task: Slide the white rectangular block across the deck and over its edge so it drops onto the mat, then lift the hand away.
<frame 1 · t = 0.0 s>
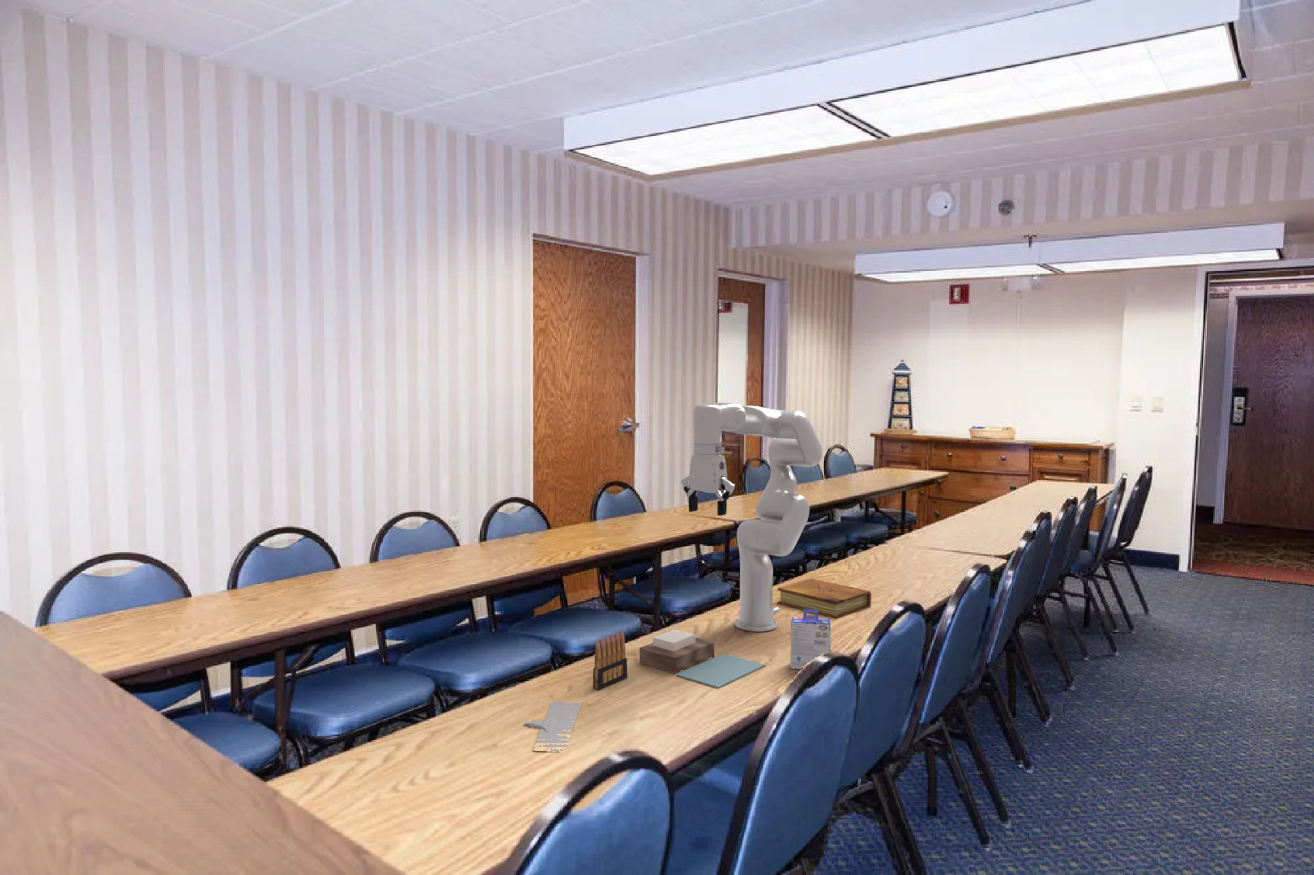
hand: (707, 513, 227), 37 cm above the table, tool pointing down, fingers open, 9 cm apart
ink cartridge box: (810, 667, 213), on the table
mat: (721, 670, 210), on the table
ammunition clip: (610, 684, 202), on the table
diary: (823, 606, 270), on the table
deck: (677, 660, 218), on the table
white rectangular block: (674, 640, 218), point 5 cm above the table, touching deck
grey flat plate: (579, 728, 178), on the table
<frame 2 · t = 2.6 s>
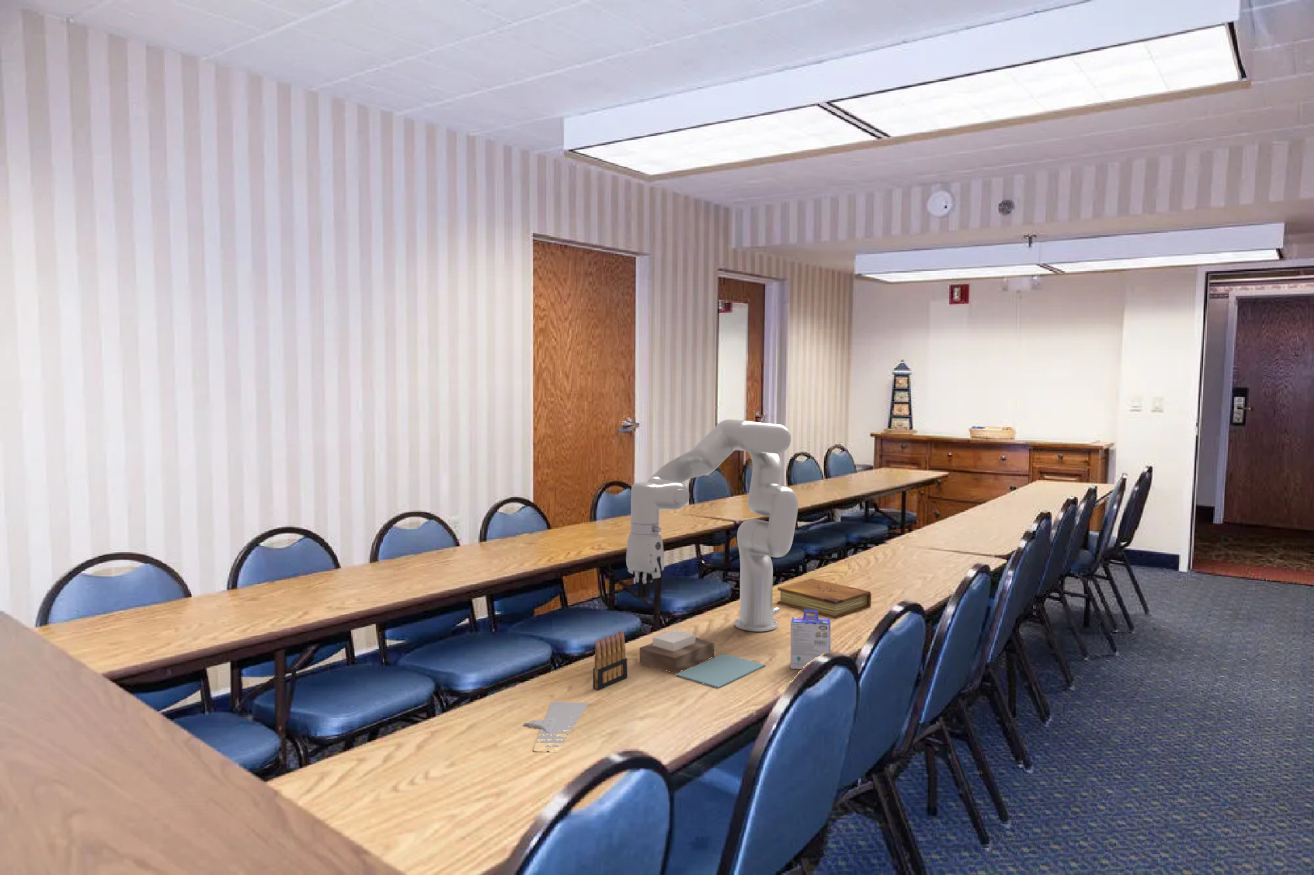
hand: (643, 596, 224), 15 cm above the table, tool pointing down, fingers closed
nothing on the table moved.
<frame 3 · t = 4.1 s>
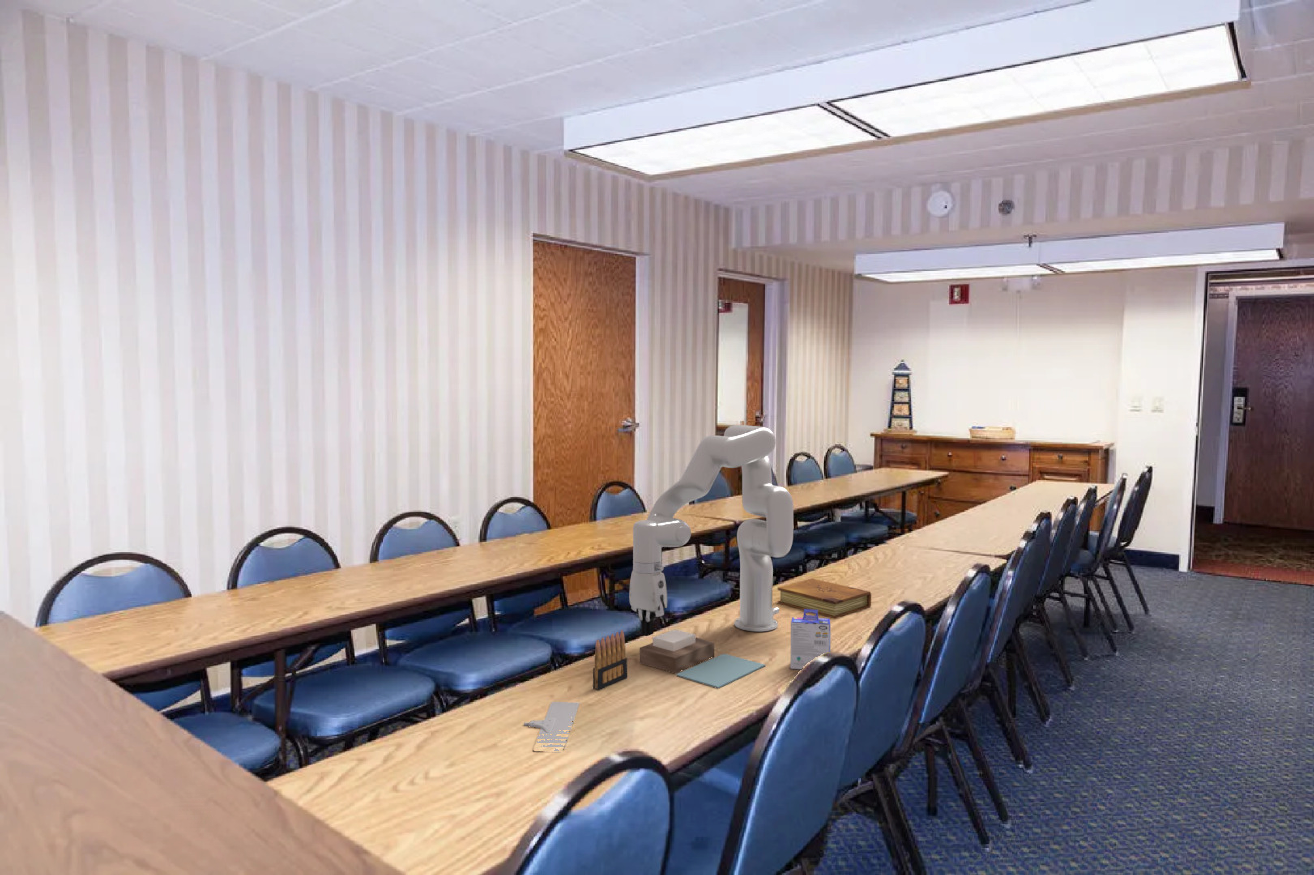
hand: (647, 634, 224), 5 cm above the table, tool pointing down, fingers closed
nothing on the table moved.
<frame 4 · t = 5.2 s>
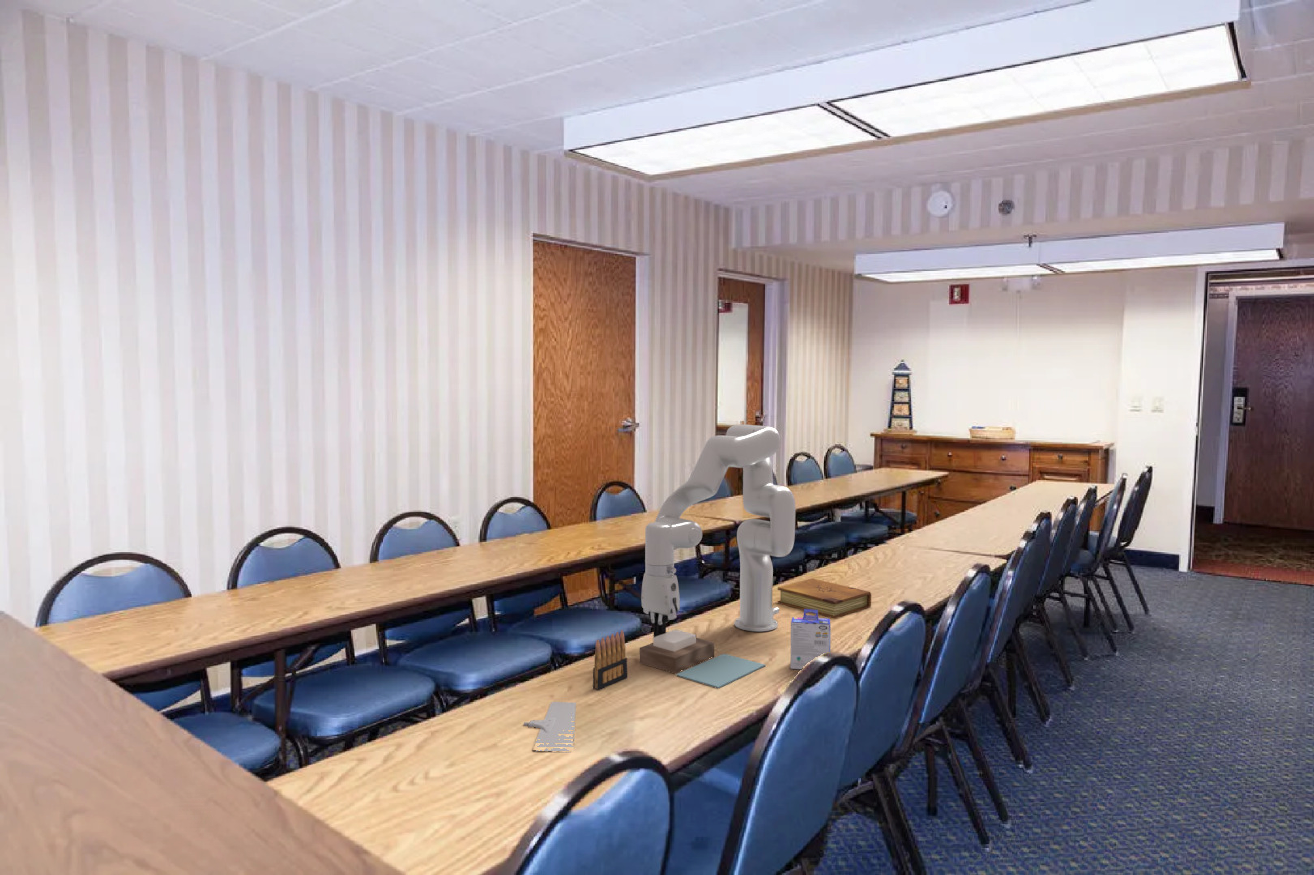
hand: (659, 637, 222), 5 cm above the table, tool pointing down, fingers closed
white rectangular block: (674, 640, 218), point 5 cm above the table, touching gripper
everything else where it was.
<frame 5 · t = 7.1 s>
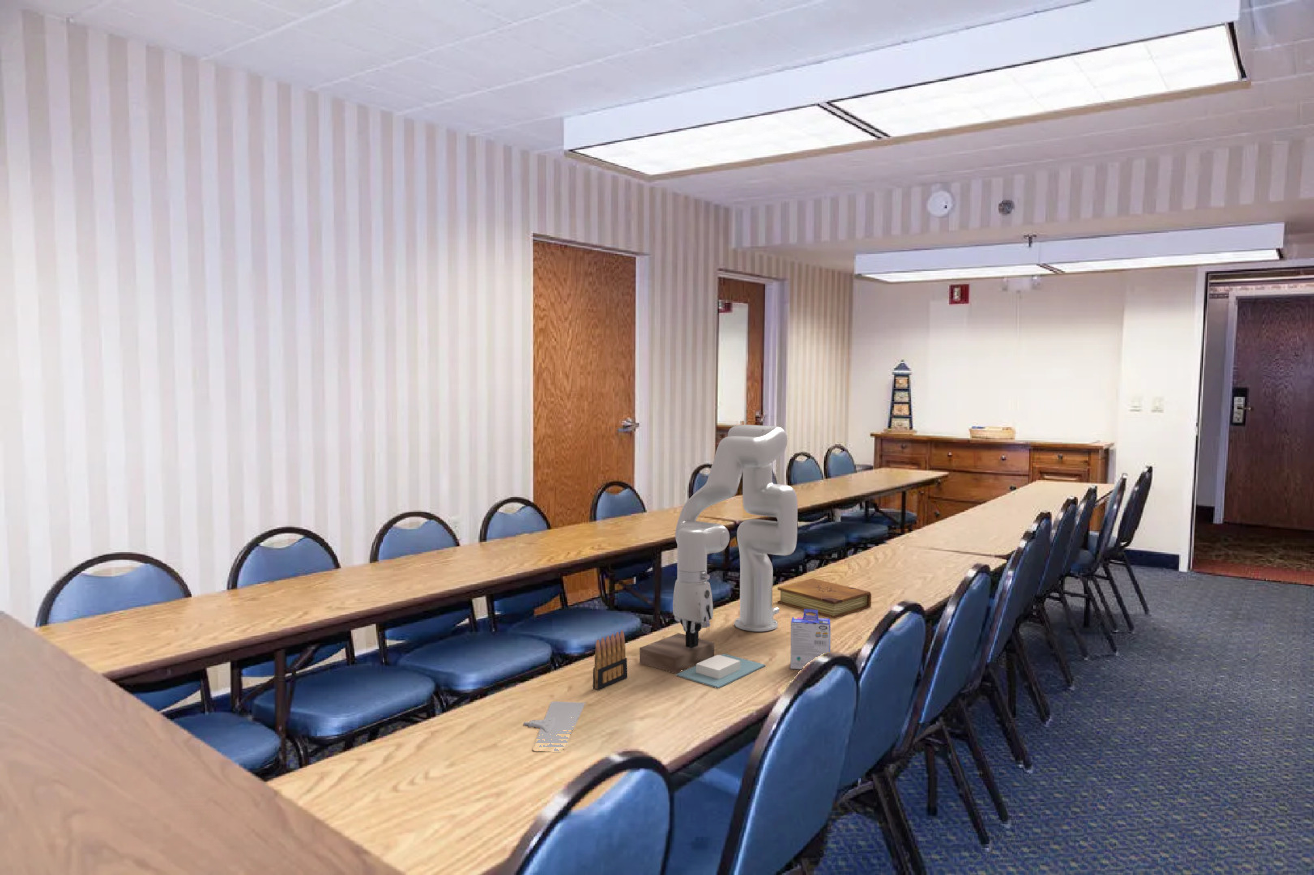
hand: (692, 646, 214), 5 cm above the table, tool pointing down, fingers closed
white rectangular block: (718, 666, 209), point 1 cm above the table, tilted 180°, touching mat
everything else where it was.
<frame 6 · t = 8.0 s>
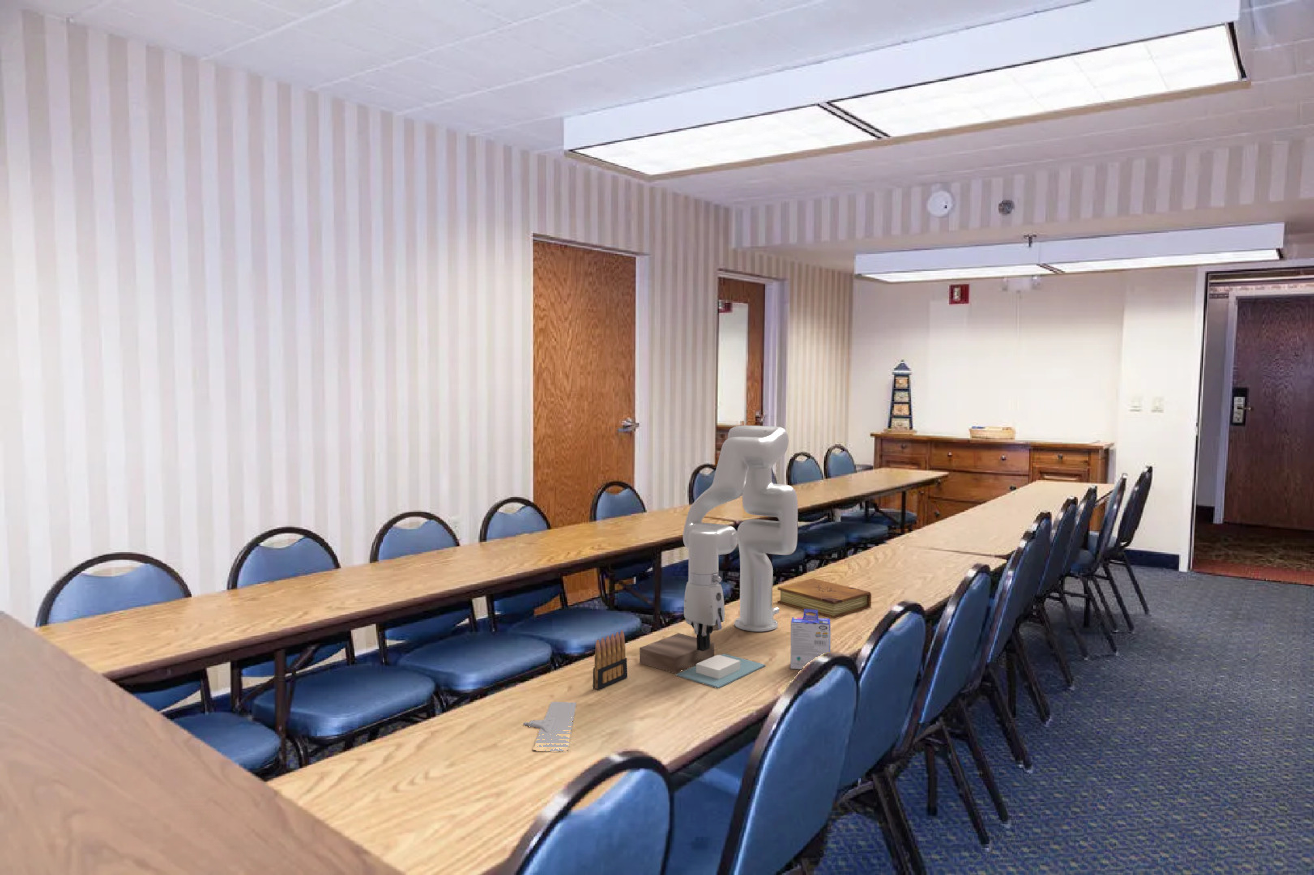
hand: (703, 649, 212), 5 cm above the table, tool pointing down, fingers closed
nothing on the table moved.
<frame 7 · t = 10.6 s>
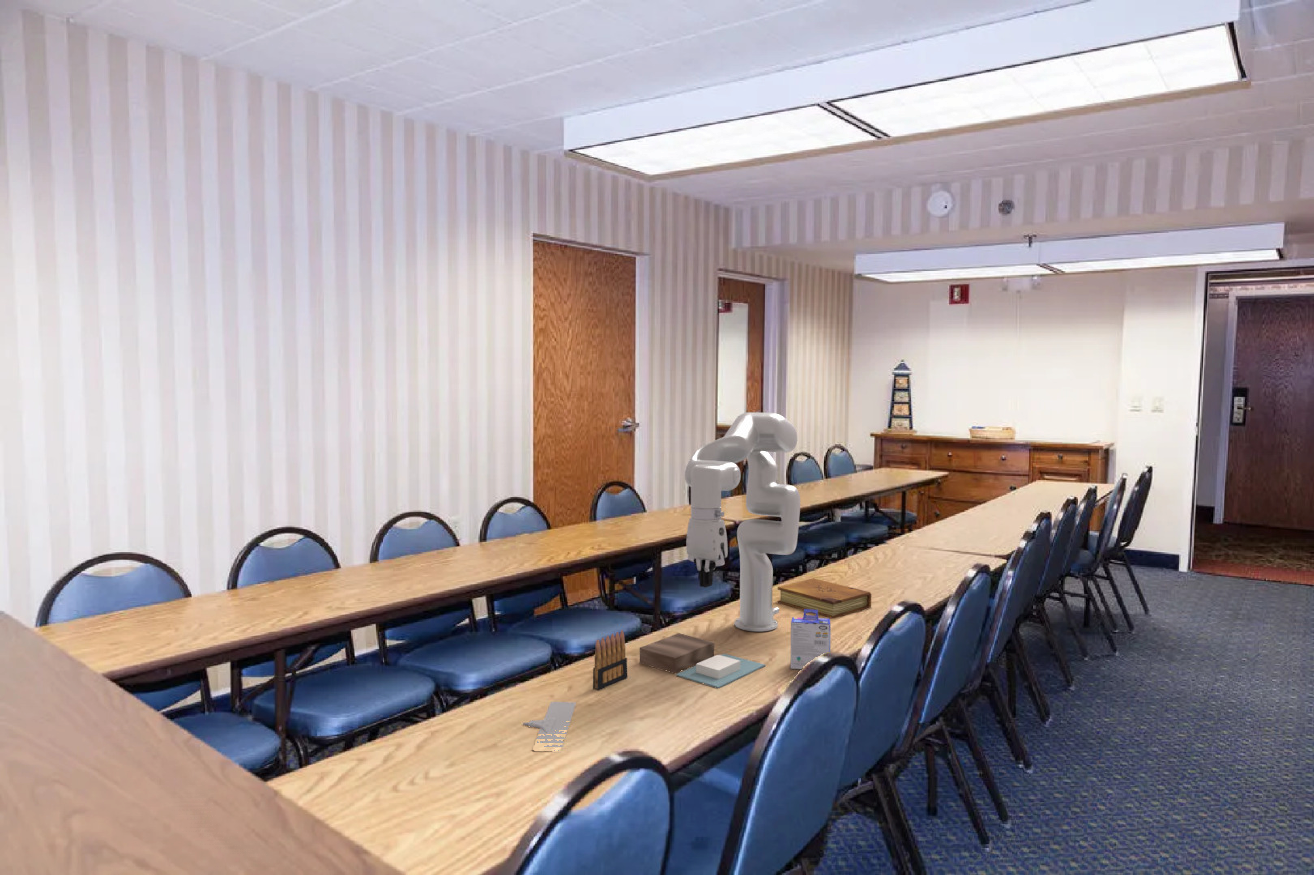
hand: (706, 585, 211), 21 cm above the table, tool pointing down, fingers closed
nothing on the table moved.
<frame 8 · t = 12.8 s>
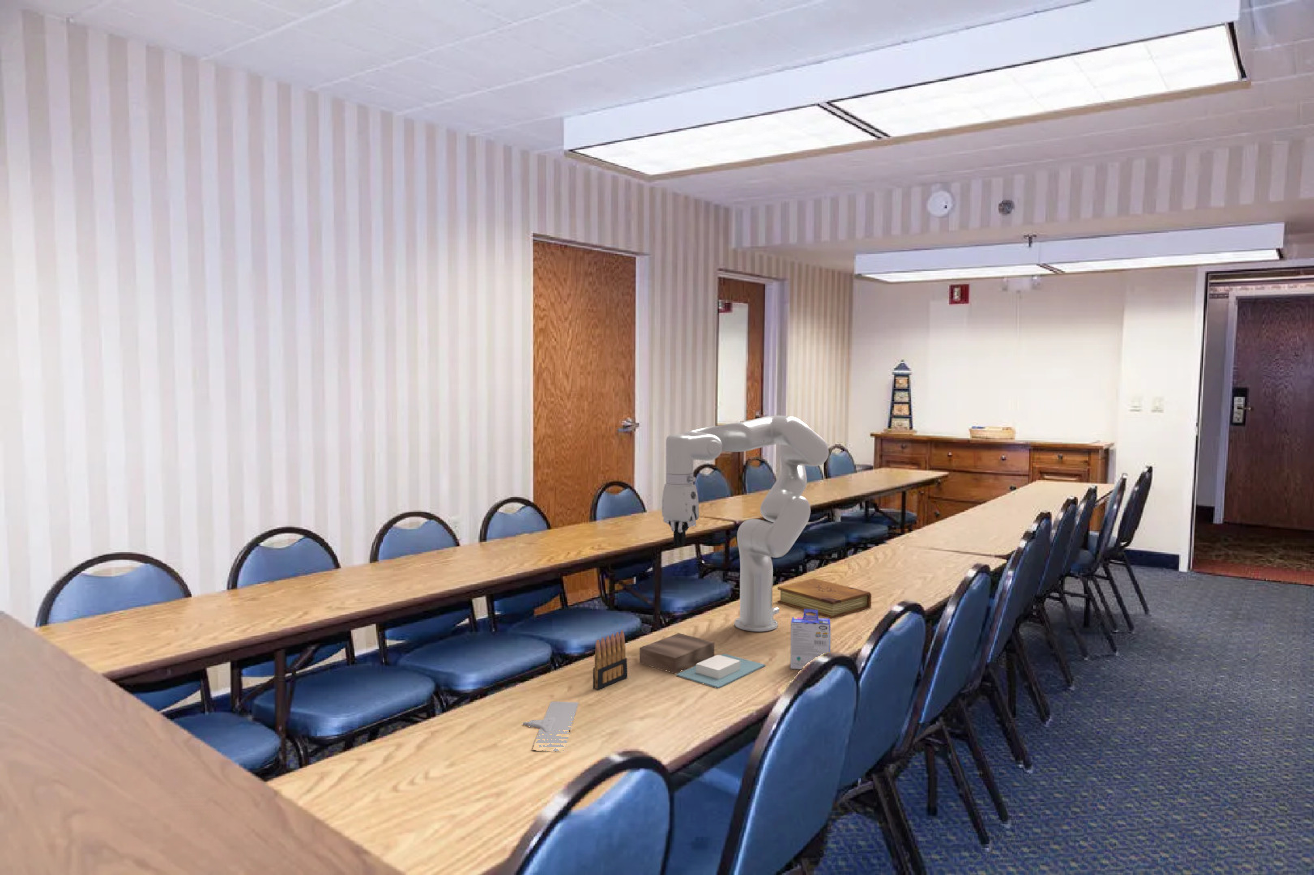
hand: (679, 545, 231), 27 cm above the table, tool pointing down, fingers closed
nothing on the table moved.
at the end: white rectangular block point 1.5 cm above the table; white rectangular block inside the target area (1.5 cm from its centre), point 1.5 cm above the table; white rectangular block touching mat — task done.
